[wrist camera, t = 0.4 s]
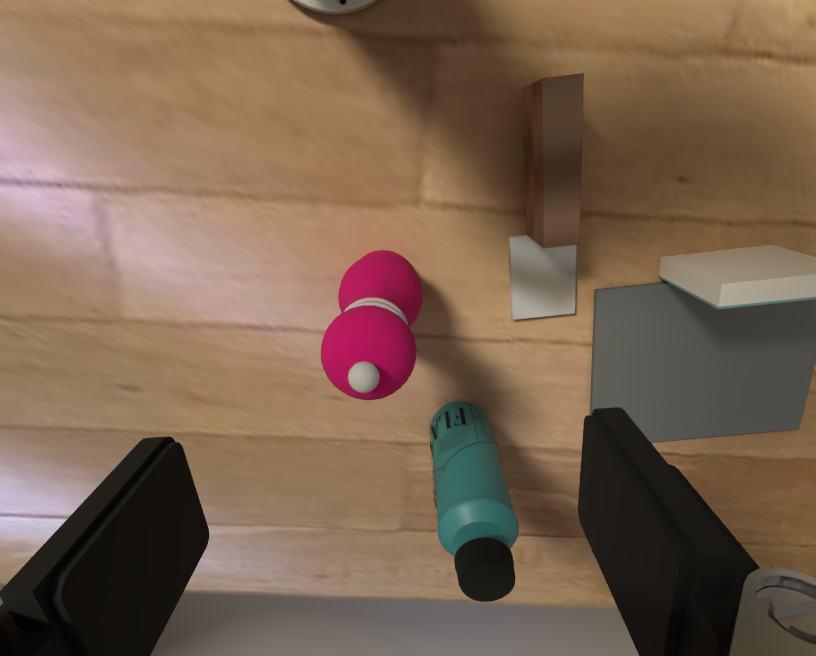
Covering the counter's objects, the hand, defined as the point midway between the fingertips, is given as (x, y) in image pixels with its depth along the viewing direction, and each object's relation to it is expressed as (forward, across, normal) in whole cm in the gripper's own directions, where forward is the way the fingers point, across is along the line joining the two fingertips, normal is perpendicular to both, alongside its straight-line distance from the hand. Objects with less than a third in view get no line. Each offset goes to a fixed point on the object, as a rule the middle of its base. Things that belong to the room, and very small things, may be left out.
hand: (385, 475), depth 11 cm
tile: (+34, -28, +5) cm, 44 cm away
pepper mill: (+34, +2, +5) cm, 34 cm away
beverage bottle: (+34, -4, +20) cm, 40 cm away
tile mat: (+34, -29, +16) cm, 47 cm away
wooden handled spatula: (+33, -12, 0) cm, 36 cm away
